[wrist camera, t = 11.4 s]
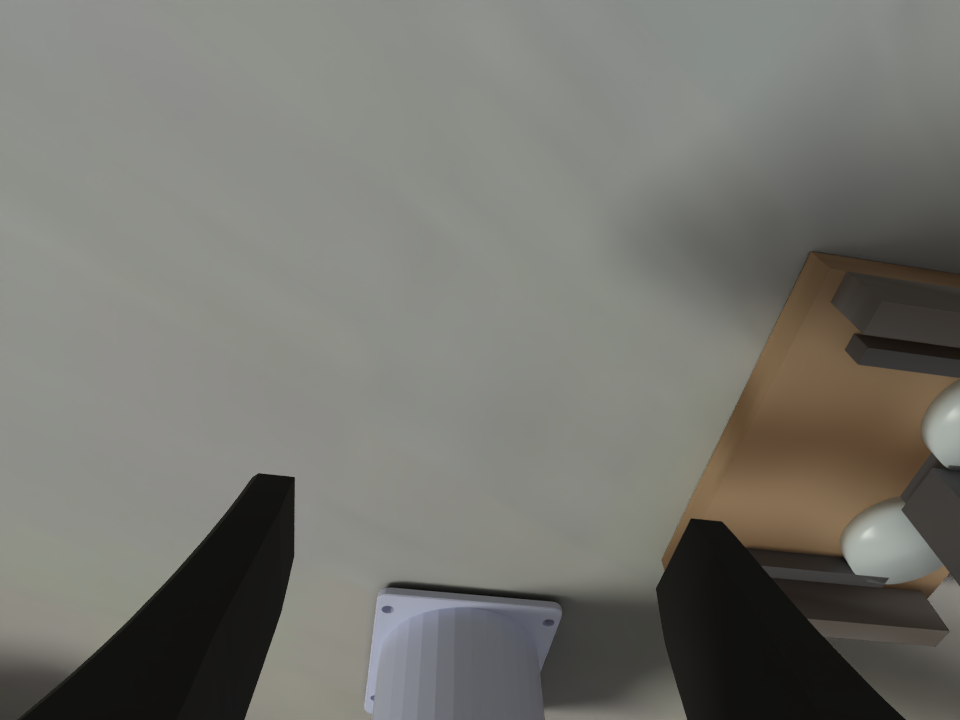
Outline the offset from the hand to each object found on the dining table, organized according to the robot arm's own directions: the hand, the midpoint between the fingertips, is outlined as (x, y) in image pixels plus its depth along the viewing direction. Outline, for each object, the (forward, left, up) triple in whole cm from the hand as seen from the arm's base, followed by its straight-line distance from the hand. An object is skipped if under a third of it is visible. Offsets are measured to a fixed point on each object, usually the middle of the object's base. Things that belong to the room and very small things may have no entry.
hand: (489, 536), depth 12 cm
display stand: (-4, -15, -9) cm, 18 cm away
